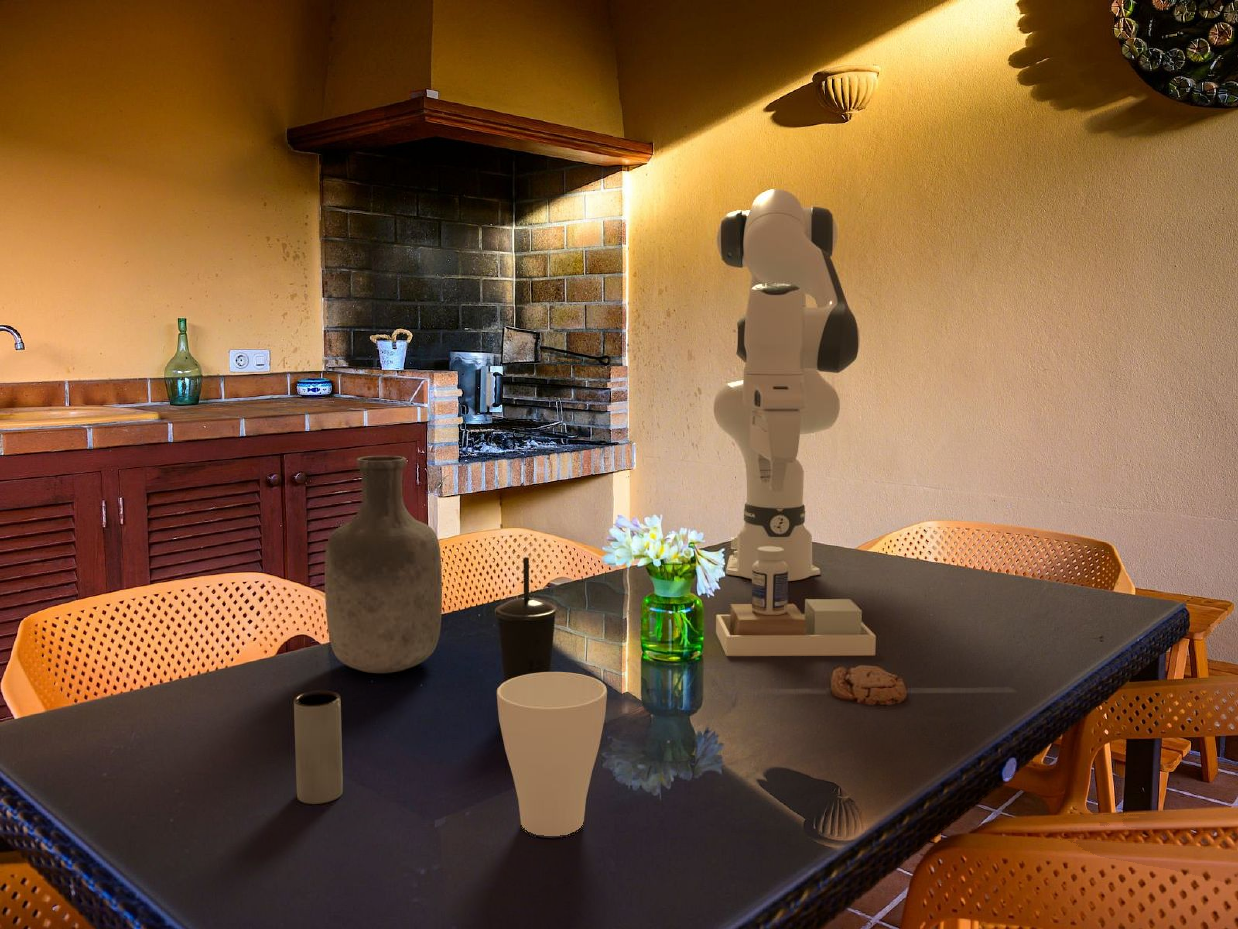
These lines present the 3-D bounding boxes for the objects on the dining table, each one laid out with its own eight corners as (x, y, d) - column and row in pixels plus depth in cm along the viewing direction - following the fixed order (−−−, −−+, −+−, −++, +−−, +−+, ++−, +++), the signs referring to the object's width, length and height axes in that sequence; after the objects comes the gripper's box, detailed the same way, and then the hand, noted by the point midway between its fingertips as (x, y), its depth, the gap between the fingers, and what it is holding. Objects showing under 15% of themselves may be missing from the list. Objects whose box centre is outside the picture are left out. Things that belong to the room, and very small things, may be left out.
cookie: (889, 713, 131) (890, 690, 130) (814, 694, 137) (814, 673, 137) (920, 692, 138) (921, 671, 138) (847, 675, 145) (848, 655, 144)
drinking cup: (484, 714, 129) (482, 556, 126) (534, 700, 134) (533, 549, 131) (519, 732, 123) (518, 567, 120) (570, 717, 128) (570, 559, 125)
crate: (715, 636, 163) (716, 614, 162) (853, 635, 164) (854, 614, 163) (726, 659, 151) (726, 636, 151) (874, 659, 152) (875, 636, 151)
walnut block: (729, 635, 161) (730, 604, 161) (793, 635, 162) (794, 603, 161) (738, 652, 152) (739, 619, 152) (805, 652, 153) (806, 619, 152)
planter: (302, 785, 108) (299, 690, 106) (346, 784, 108) (344, 690, 107) (292, 805, 103) (288, 706, 102) (338, 804, 104) (335, 705, 102)
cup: (609, 801, 105) (609, 672, 103) (603, 852, 94) (604, 710, 93) (506, 799, 105) (505, 670, 103) (489, 849, 95) (488, 707, 93)
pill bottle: (785, 607, 159) (787, 545, 158) (788, 616, 154) (789, 552, 152) (750, 606, 159) (752, 544, 158) (751, 615, 154) (753, 551, 153)
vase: (429, 646, 157) (426, 450, 153) (454, 678, 142) (452, 462, 138) (321, 658, 151) (314, 454, 147) (335, 693, 136) (329, 467, 132)
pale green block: (804, 636, 161) (805, 599, 160) (848, 636, 161) (849, 599, 160) (814, 650, 154) (815, 611, 153) (860, 650, 154) (861, 611, 153)
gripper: (741, 389, 163) (739, 476, 164) (763, 397, 142) (761, 496, 144) (780, 390, 163) (778, 476, 165) (808, 397, 143) (805, 496, 144)
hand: (770, 486), depth 154 cm, fingers open, 8 cm apart
